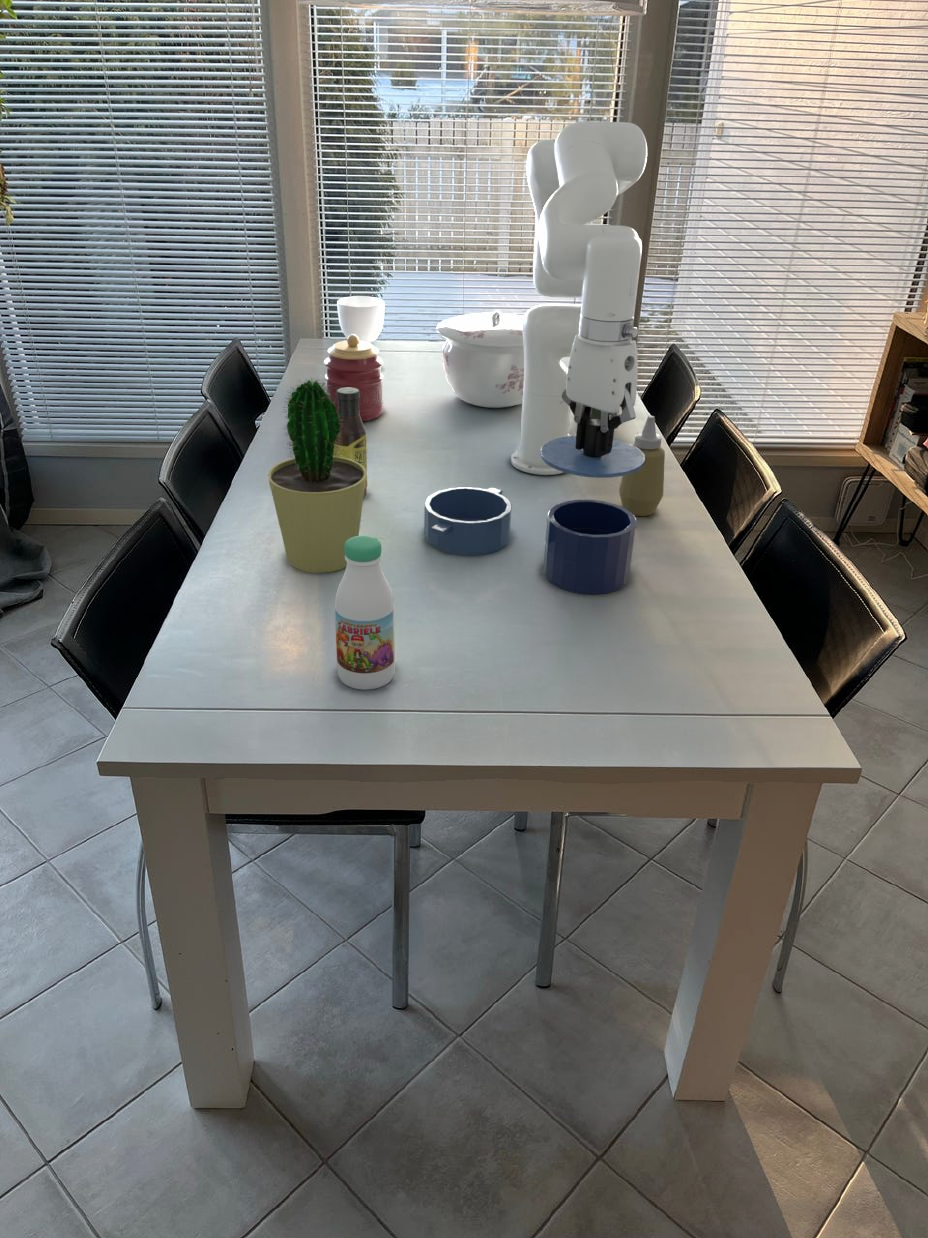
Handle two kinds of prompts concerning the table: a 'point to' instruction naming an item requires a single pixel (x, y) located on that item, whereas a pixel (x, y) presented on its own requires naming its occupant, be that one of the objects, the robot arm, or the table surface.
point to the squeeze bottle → (645, 474)
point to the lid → (592, 455)
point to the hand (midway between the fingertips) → (593, 449)
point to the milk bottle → (364, 618)
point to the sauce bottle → (351, 428)
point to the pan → (467, 520)
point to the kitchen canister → (356, 374)
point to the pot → (589, 546)
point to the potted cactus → (316, 485)
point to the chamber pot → (484, 358)
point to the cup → (361, 316)
